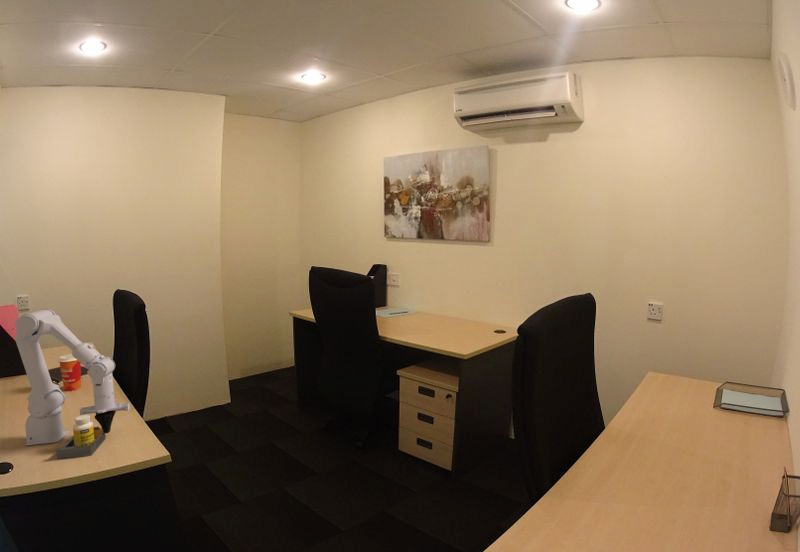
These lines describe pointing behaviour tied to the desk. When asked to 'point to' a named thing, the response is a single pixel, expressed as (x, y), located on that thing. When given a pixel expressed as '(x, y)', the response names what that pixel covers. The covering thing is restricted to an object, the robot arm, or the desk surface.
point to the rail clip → (79, 448)
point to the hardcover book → (57, 376)
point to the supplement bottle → (83, 431)
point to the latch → (97, 432)
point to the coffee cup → (70, 372)
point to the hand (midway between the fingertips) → (107, 432)
